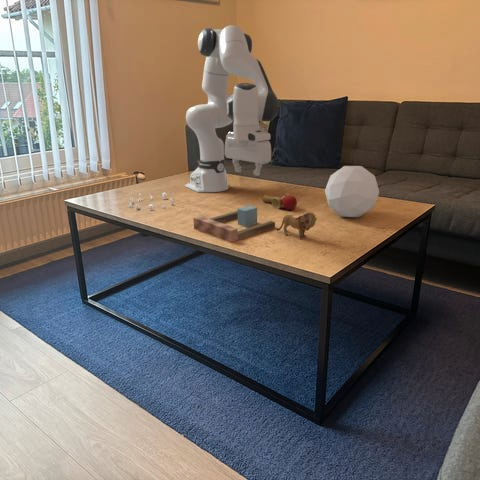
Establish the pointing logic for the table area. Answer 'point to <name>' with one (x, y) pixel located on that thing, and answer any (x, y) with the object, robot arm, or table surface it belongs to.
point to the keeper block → (247, 216)
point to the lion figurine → (299, 223)
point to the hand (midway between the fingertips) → (247, 173)
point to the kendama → (282, 201)
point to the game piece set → (150, 204)
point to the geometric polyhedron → (352, 191)
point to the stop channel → (228, 227)
